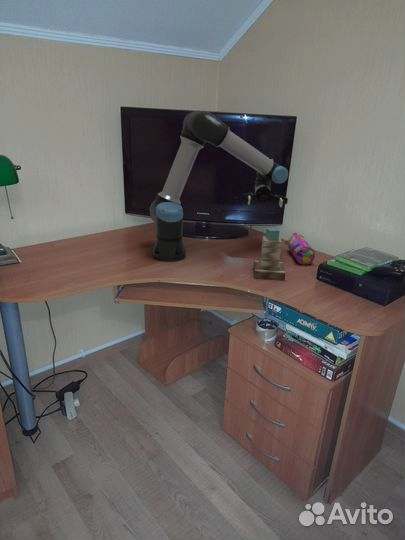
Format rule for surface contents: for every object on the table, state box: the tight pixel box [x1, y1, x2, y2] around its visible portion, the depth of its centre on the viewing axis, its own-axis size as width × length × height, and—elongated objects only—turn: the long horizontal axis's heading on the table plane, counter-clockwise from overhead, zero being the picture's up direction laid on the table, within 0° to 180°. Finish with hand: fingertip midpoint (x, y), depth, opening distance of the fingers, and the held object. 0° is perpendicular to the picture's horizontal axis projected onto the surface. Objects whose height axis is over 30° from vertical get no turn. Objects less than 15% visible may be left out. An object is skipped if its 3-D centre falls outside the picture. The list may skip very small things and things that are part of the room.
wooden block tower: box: [258, 235, 282, 271], centre depth 157 cm, size 8×7×12 cm
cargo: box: [265, 227, 280, 241], centre depth 154 cm, size 4×4×4 cm
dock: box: [253, 260, 286, 281], centre depth 159 cm, size 12×12×3 cm
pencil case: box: [284, 232, 316, 266], centre depth 179 cm, size 22×9×9 cm, turn 1°
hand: (265, 202), depth 163 cm, fingers open, 13 cm apart
